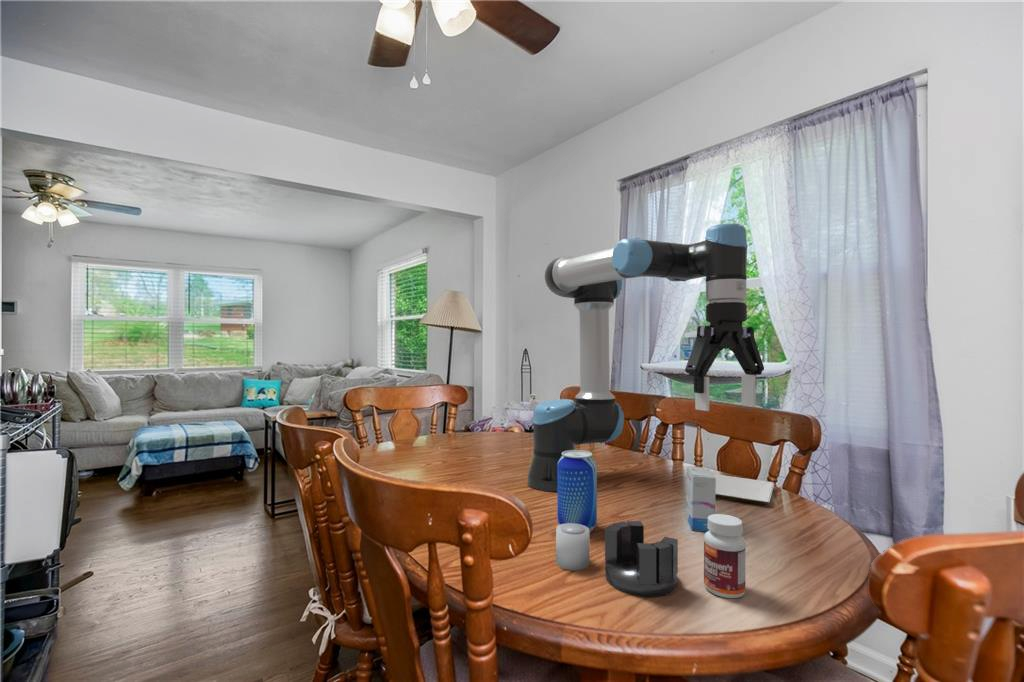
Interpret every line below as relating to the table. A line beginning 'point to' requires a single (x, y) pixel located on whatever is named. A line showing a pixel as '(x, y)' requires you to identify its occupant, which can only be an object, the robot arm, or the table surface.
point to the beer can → (577, 489)
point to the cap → (572, 546)
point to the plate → (743, 489)
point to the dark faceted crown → (639, 561)
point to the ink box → (699, 497)
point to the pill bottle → (724, 556)
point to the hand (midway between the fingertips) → (726, 408)
